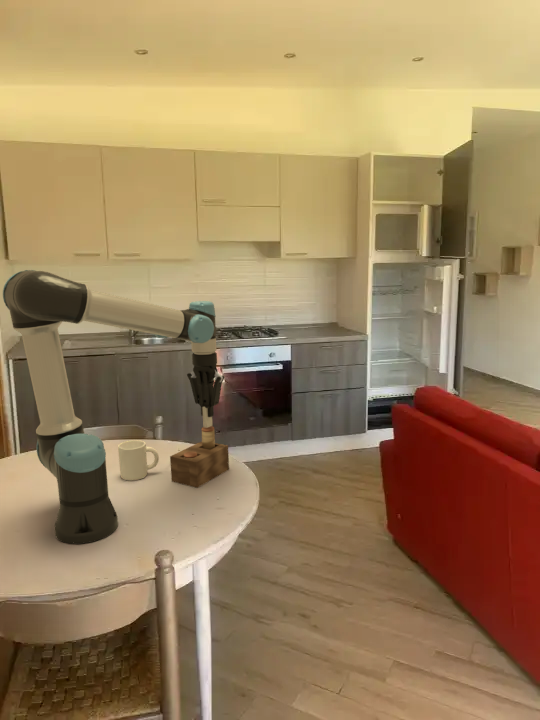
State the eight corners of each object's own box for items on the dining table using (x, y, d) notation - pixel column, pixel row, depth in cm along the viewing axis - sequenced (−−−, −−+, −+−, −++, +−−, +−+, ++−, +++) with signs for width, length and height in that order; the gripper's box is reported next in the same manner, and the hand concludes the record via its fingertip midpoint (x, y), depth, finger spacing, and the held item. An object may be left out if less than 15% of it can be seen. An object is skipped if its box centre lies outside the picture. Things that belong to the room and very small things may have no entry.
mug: (159, 468, 178) (157, 437, 176) (160, 478, 170) (158, 446, 168) (120, 472, 176) (118, 441, 174) (120, 482, 168) (117, 450, 166)
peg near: (192, 480, 165) (191, 457, 164) (182, 478, 167) (180, 454, 166) (200, 476, 168) (199, 452, 167) (190, 473, 170) (189, 450, 169)
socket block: (197, 487, 162) (196, 462, 161) (171, 481, 168) (170, 456, 166) (229, 469, 176) (228, 445, 174) (204, 463, 181) (203, 440, 179)
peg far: (210, 453, 172) (209, 430, 170) (199, 451, 174) (198, 429, 172) (217, 449, 175) (216, 427, 173) (207, 447, 177) (206, 425, 176)
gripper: (228, 351, 168) (231, 425, 173) (195, 348, 175) (199, 420, 179) (213, 355, 162) (217, 432, 166) (179, 352, 168) (184, 426, 173)
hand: (207, 426), depth 173 cm, fingers closed
